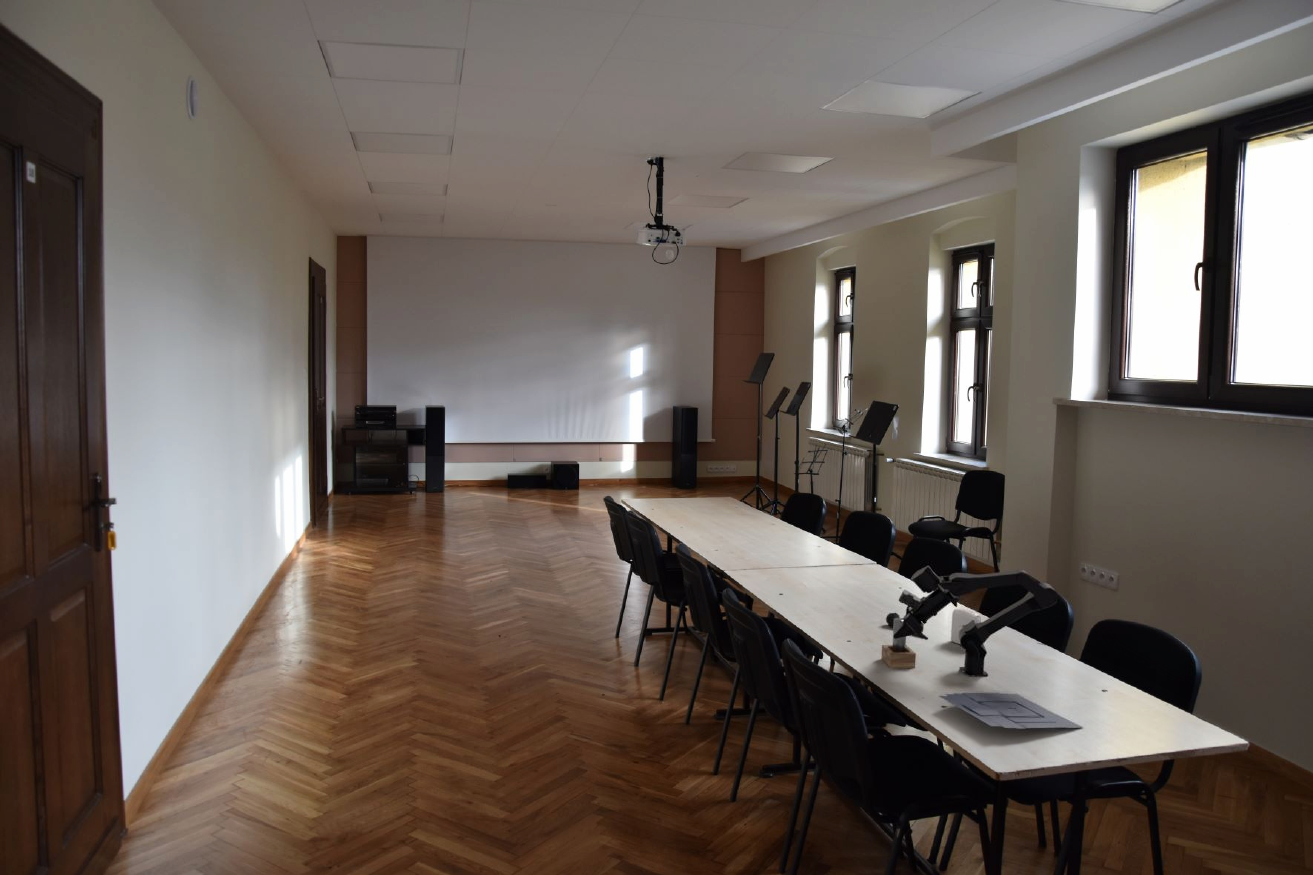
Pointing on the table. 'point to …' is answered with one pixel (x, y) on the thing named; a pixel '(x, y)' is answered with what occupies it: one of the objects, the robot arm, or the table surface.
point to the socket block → (898, 657)
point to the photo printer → (962, 621)
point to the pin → (898, 643)
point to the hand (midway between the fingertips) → (895, 633)
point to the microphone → (890, 622)
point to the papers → (1007, 710)
